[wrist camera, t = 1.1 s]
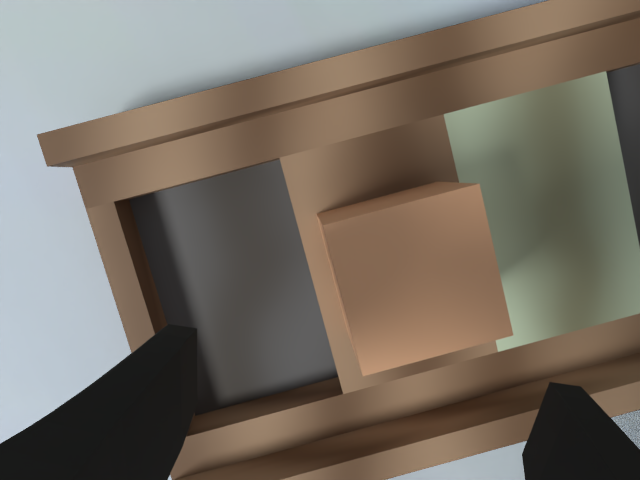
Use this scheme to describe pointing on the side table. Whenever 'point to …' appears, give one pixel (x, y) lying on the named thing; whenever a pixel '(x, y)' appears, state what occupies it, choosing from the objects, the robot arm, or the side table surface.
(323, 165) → the trap lane
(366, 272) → the terracotta block
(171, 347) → the robot arm
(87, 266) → the side table surface
